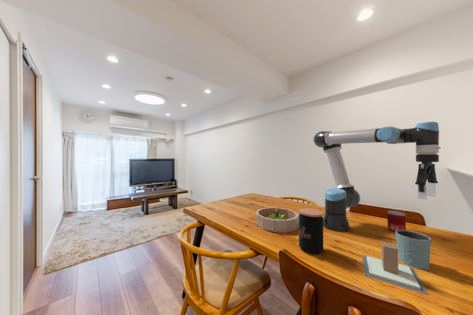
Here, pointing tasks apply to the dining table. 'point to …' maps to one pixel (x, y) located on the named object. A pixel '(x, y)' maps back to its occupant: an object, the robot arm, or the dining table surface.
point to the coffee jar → (311, 230)
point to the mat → (394, 282)
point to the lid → (391, 267)
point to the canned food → (396, 221)
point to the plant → (276, 215)
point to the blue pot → (413, 248)
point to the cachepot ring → (277, 220)
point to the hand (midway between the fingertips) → (426, 197)
